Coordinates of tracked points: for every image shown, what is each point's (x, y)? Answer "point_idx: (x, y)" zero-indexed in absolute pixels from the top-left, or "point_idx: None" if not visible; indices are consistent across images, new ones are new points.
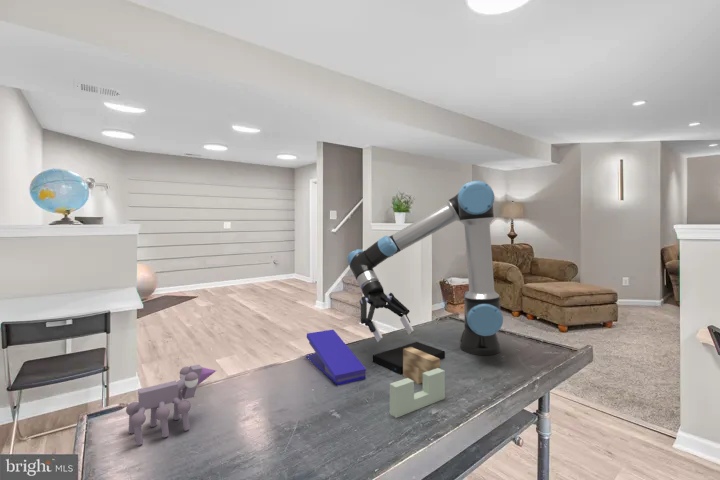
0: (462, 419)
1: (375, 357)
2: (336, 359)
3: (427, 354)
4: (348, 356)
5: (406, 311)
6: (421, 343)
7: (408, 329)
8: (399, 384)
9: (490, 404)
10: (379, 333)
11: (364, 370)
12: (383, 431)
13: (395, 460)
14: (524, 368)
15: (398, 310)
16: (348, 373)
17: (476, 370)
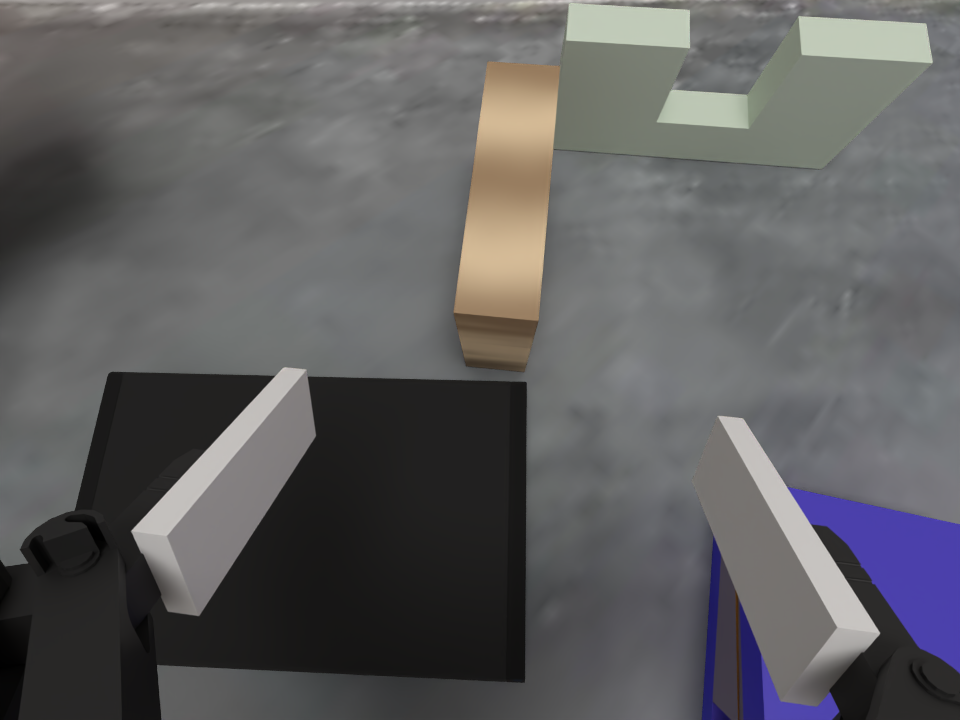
0: None
1: (524, 642)
2: None
3: (489, 146)
4: None
5: (44, 541)
6: None
7: (293, 429)
8: (889, 32)
9: (456, 8)
10: (754, 450)
11: None
12: (909, 109)
13: (956, 4)
14: (36, 72)
15: (122, 673)
16: (881, 510)
17: (197, 184)
